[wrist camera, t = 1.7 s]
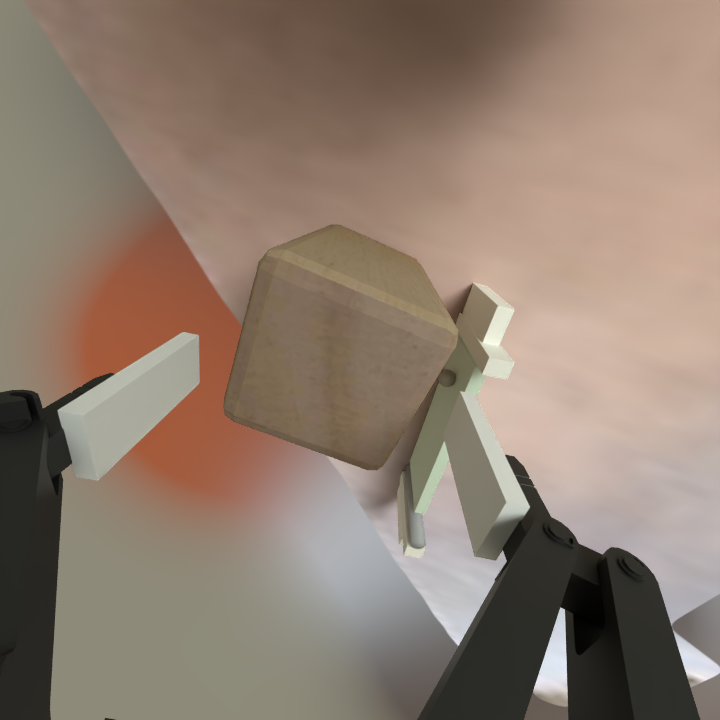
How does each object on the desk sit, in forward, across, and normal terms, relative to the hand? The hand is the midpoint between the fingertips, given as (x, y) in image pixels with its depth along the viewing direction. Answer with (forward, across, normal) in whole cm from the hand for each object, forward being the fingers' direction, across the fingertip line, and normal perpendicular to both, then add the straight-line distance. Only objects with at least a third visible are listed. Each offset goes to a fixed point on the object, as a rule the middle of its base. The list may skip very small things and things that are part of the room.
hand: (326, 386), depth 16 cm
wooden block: (+20, 0, 0) cm, 20 cm away
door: (+20, +11, -12) cm, 25 cm away
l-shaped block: (+20, +12, -12) cm, 26 cm away
